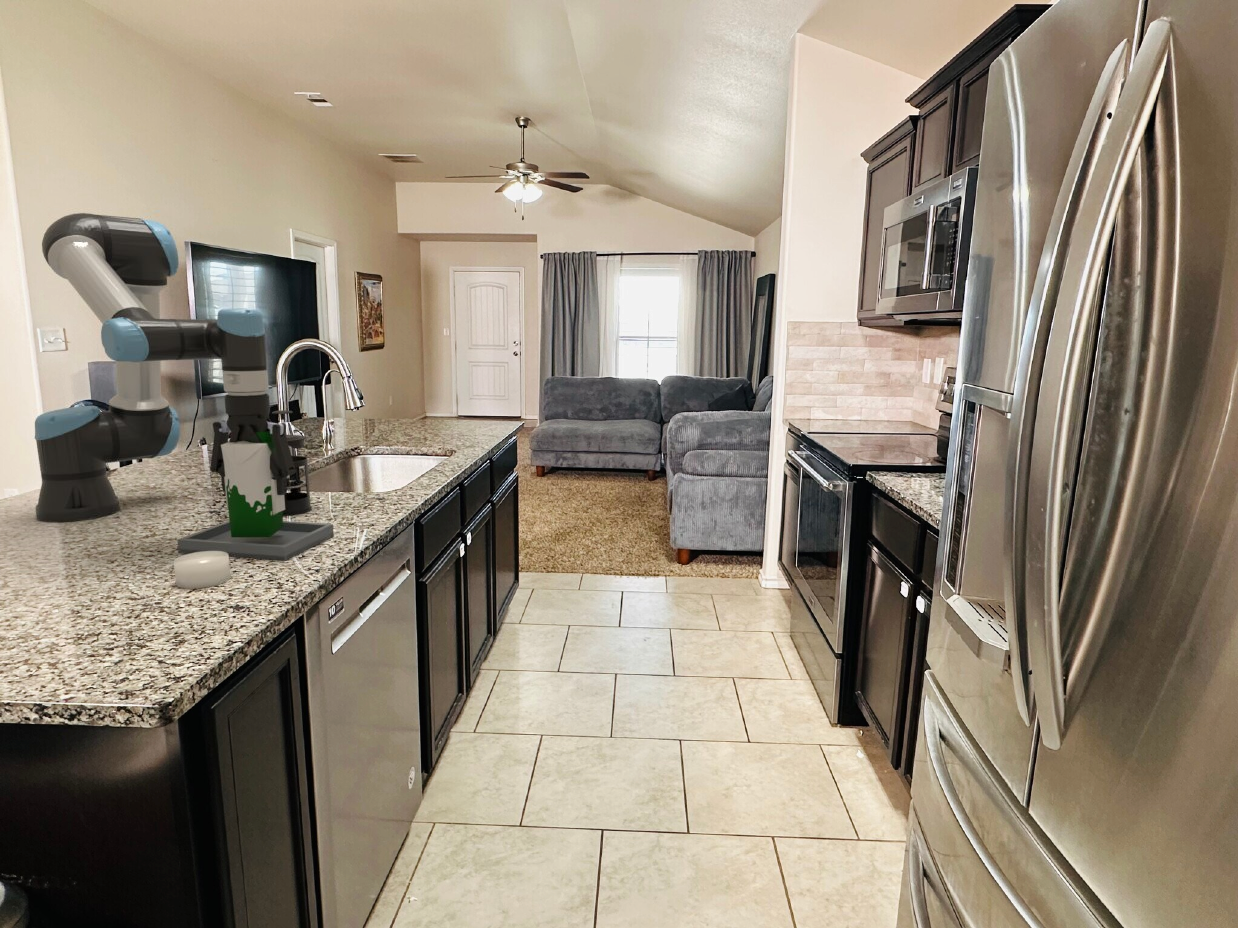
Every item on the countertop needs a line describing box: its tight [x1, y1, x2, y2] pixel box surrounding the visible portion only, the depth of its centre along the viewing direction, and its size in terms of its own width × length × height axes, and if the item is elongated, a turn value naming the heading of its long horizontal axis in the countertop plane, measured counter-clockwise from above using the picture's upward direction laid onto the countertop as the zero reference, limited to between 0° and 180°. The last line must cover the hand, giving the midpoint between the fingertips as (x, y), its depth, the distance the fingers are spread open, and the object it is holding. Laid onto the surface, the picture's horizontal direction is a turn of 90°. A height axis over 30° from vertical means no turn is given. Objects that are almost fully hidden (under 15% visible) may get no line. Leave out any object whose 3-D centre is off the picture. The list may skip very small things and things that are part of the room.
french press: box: [271, 410, 313, 517], centre depth 168 cm, size 12×9×23 cm
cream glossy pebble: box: [173, 551, 232, 589], centre depth 124 cm, size 8×8×4 cm
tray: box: [176, 520, 335, 561], centre depth 144 cm, size 22×16×2 cm
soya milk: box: [221, 430, 284, 538], centre depth 142 cm, size 9×9×20 cm
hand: (256, 509), depth 143 cm, fingers closed on soya milk, 9 cm apart
